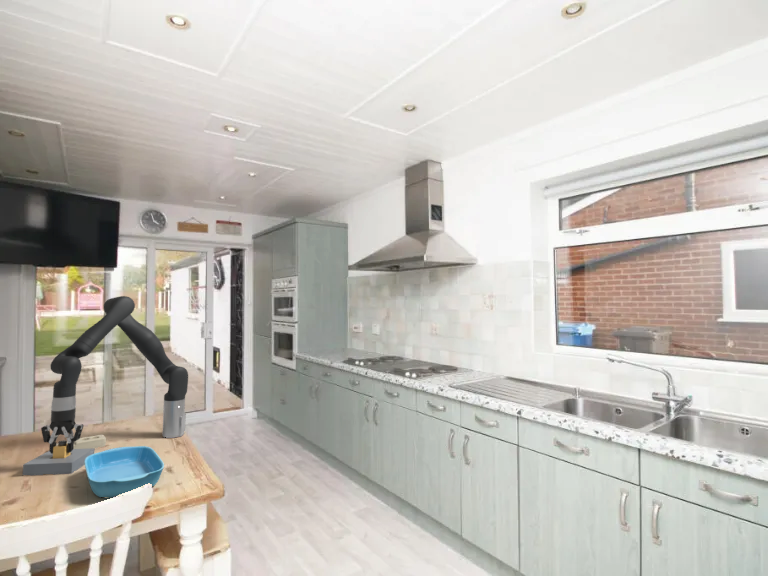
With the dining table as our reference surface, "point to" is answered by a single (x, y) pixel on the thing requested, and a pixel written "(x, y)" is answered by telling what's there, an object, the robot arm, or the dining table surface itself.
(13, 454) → the dining table surface
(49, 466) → the socket
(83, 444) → the electrical outlet
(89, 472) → the casserole dish
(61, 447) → the plug
